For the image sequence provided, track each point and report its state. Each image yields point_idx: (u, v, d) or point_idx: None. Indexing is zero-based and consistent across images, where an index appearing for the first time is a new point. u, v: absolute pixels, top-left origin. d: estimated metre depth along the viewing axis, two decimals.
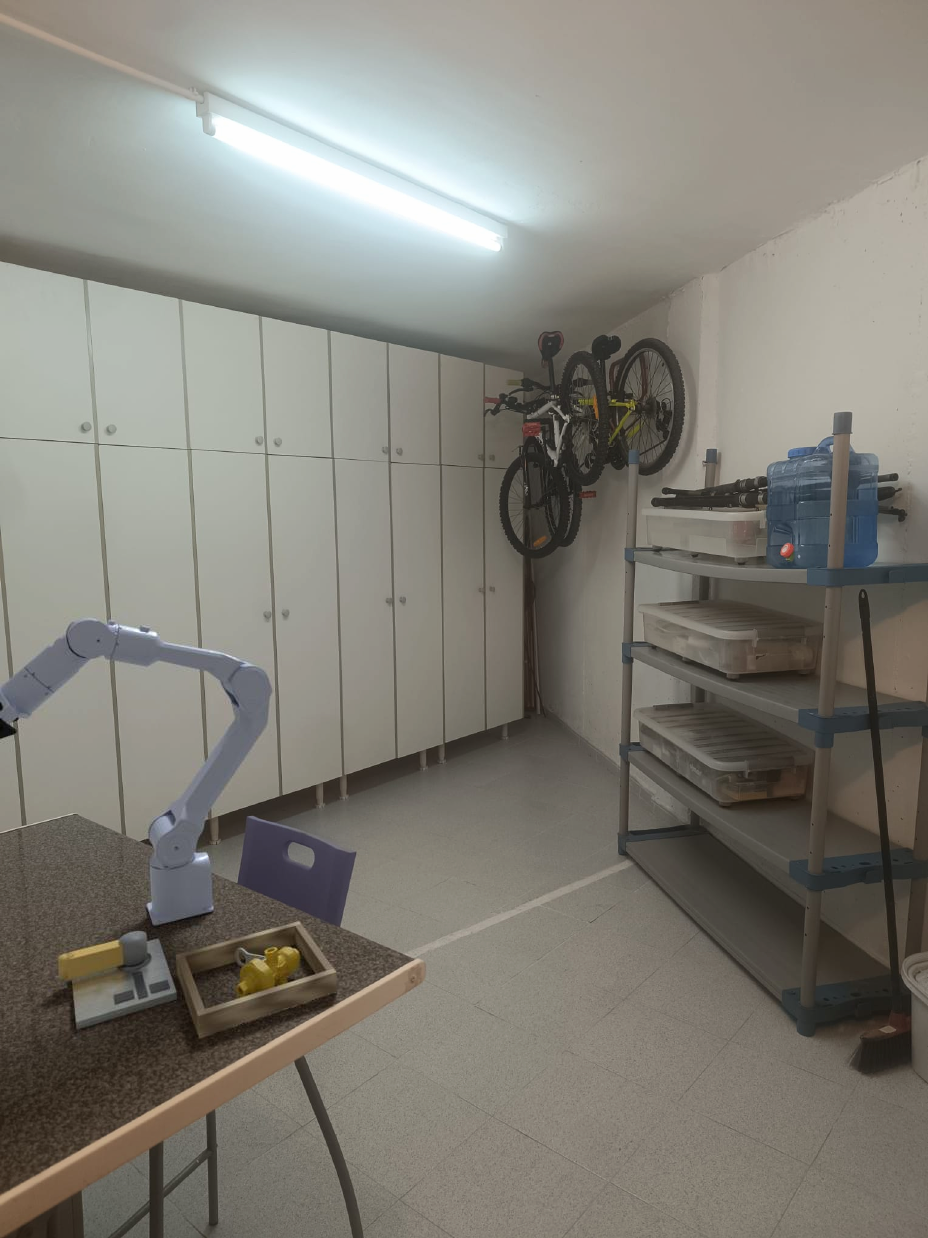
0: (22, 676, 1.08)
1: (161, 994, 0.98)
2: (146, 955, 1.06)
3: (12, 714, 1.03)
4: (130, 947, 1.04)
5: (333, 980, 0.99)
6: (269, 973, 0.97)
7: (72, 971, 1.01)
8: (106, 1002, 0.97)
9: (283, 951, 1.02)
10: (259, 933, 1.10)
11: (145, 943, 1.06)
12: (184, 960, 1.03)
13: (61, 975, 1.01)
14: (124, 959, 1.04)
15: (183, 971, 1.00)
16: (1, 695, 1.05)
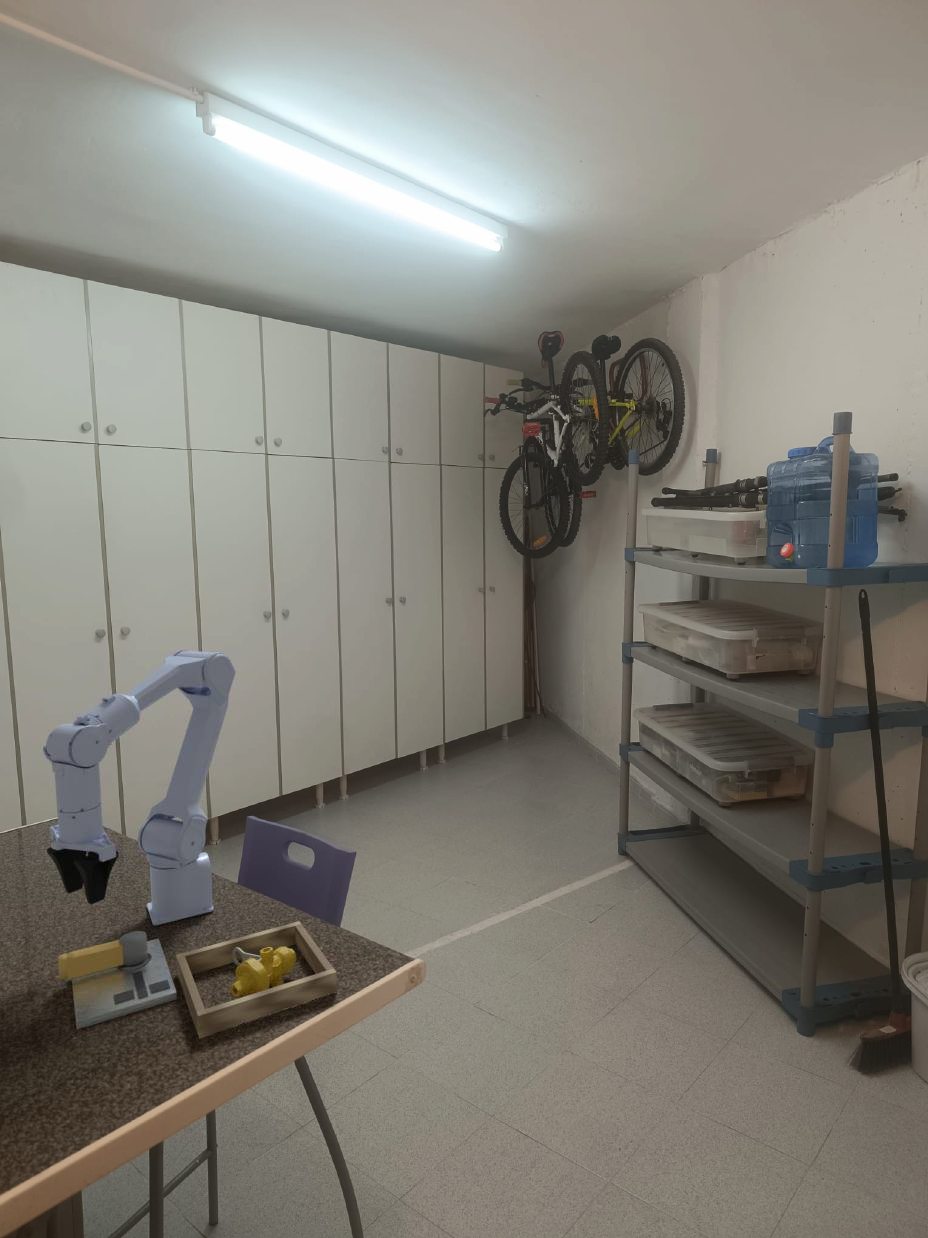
0: (71, 820, 1.04)
1: (161, 994, 0.98)
2: (146, 955, 1.06)
3: (110, 849, 1.03)
4: (130, 947, 1.04)
5: (333, 980, 0.99)
6: (264, 973, 0.97)
7: (72, 971, 1.01)
8: (106, 1002, 0.97)
9: (279, 950, 1.02)
10: (259, 933, 1.10)
11: (145, 943, 1.06)
12: (184, 960, 1.03)
13: (61, 975, 1.01)
14: (124, 959, 1.04)
15: (183, 971, 1.00)
16: (77, 846, 1.03)
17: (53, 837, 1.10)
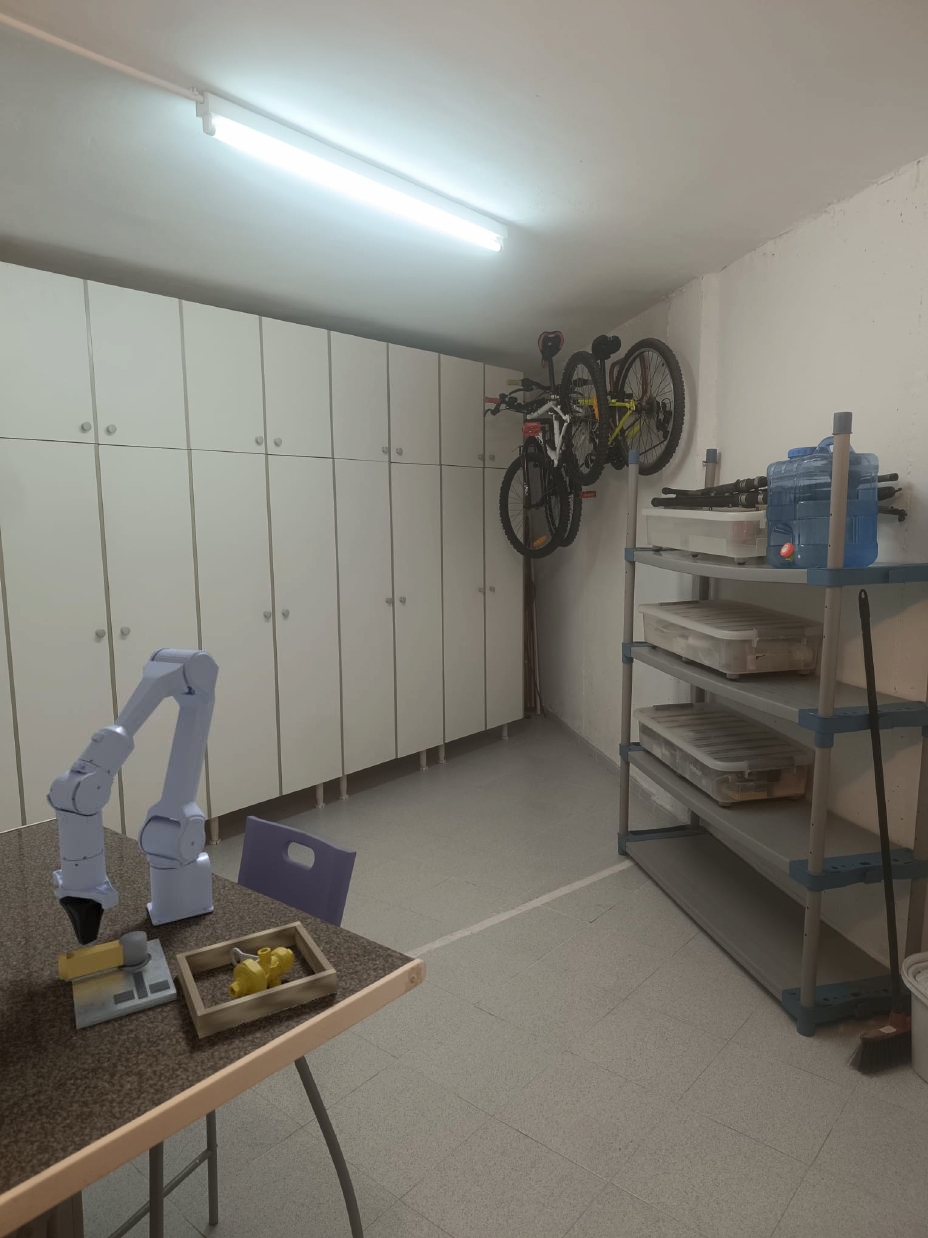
0: (74, 867, 1.04)
1: (161, 994, 0.98)
2: (146, 955, 1.06)
3: (113, 897, 1.04)
4: (130, 947, 1.04)
5: (333, 980, 0.99)
6: (261, 974, 0.97)
7: (72, 971, 1.01)
8: (106, 1002, 0.97)
9: (277, 951, 1.02)
10: (259, 933, 1.10)
11: (145, 943, 1.06)
12: (184, 960, 1.03)
13: (61, 975, 1.01)
14: (124, 959, 1.04)
15: (183, 971, 1.00)
16: (80, 893, 1.04)
17: (56, 882, 1.10)
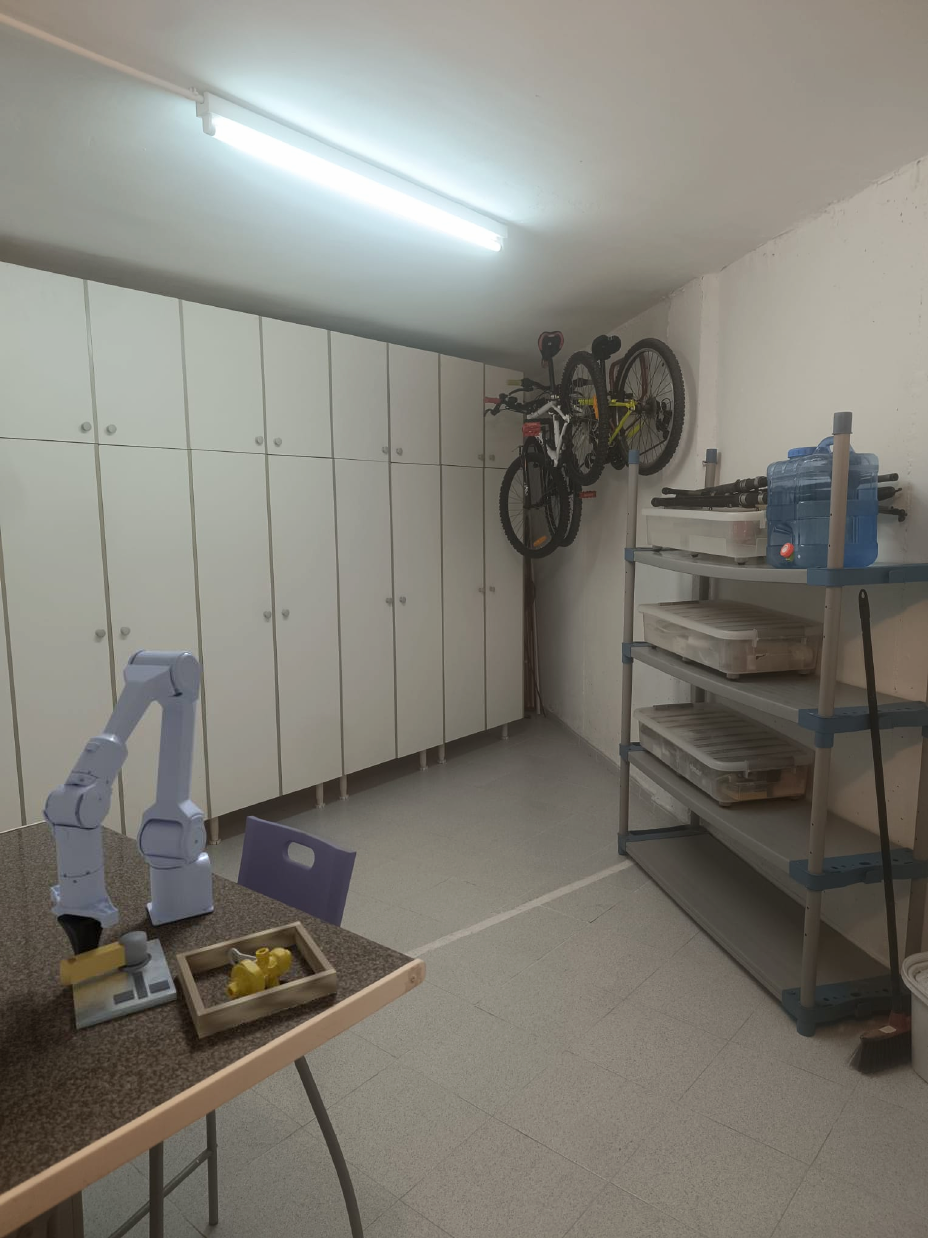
0: (72, 884, 1.00)
1: (161, 994, 0.98)
2: (147, 954, 1.06)
3: (113, 915, 0.99)
4: (133, 947, 1.04)
5: (333, 980, 0.99)
6: (259, 974, 0.97)
7: (75, 976, 1.00)
8: (106, 1002, 0.97)
9: (275, 952, 1.02)
10: (259, 933, 1.10)
11: (146, 942, 1.06)
12: (184, 960, 1.03)
13: (64, 981, 0.99)
14: (126, 959, 1.04)
15: (183, 971, 1.00)
16: (78, 911, 1.00)
17: (54, 898, 1.06)
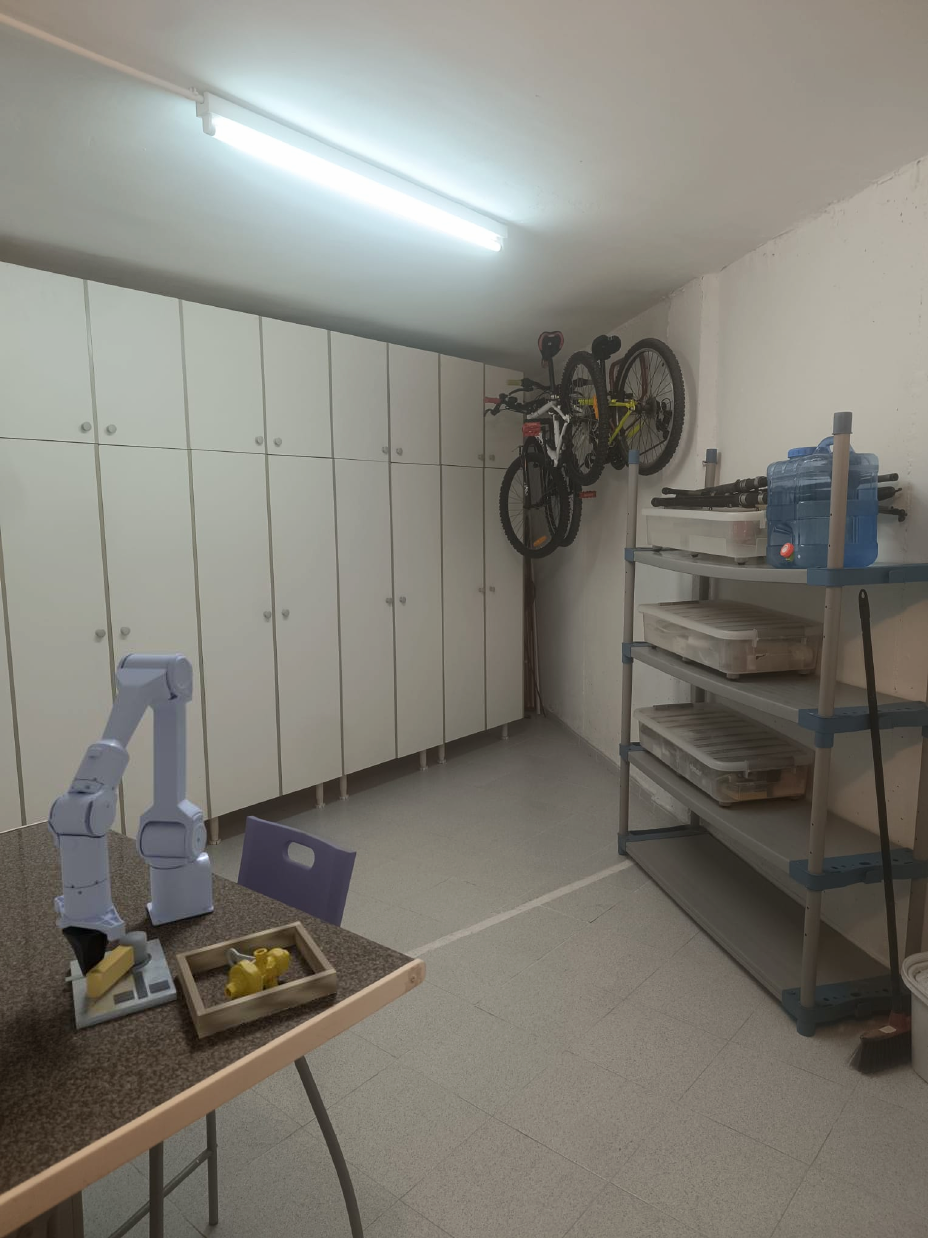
0: (78, 895, 0.97)
1: (161, 994, 0.98)
2: None
3: (120, 928, 0.96)
4: (141, 943, 1.05)
5: (333, 980, 0.99)
6: (257, 975, 0.97)
7: (105, 984, 0.98)
8: (106, 1002, 0.97)
9: (273, 952, 1.02)
10: (259, 933, 1.10)
11: None
12: (184, 960, 1.03)
13: (96, 992, 0.97)
14: (135, 958, 1.04)
15: (183, 971, 1.00)
16: (84, 924, 0.97)
17: (58, 909, 1.03)
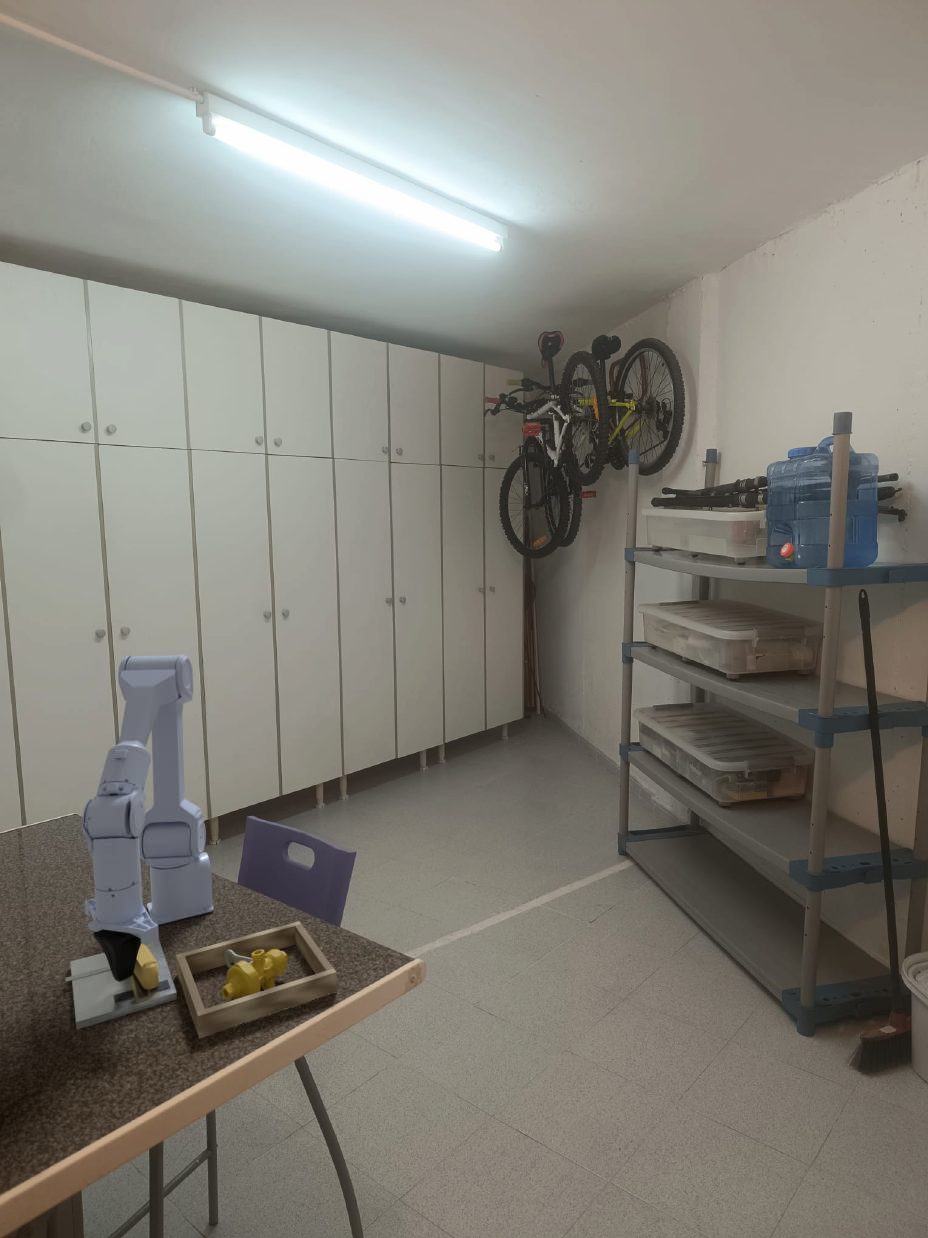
0: (110, 898, 0.96)
1: (161, 994, 0.98)
2: None
3: (153, 931, 0.95)
4: None
5: (333, 980, 0.99)
6: (255, 976, 0.97)
7: None
8: (106, 1002, 0.97)
9: (271, 953, 1.02)
10: (259, 933, 1.10)
11: None
12: (184, 960, 1.03)
13: (157, 981, 0.99)
14: None
15: (183, 971, 1.00)
16: (117, 927, 0.96)
17: (88, 912, 1.02)
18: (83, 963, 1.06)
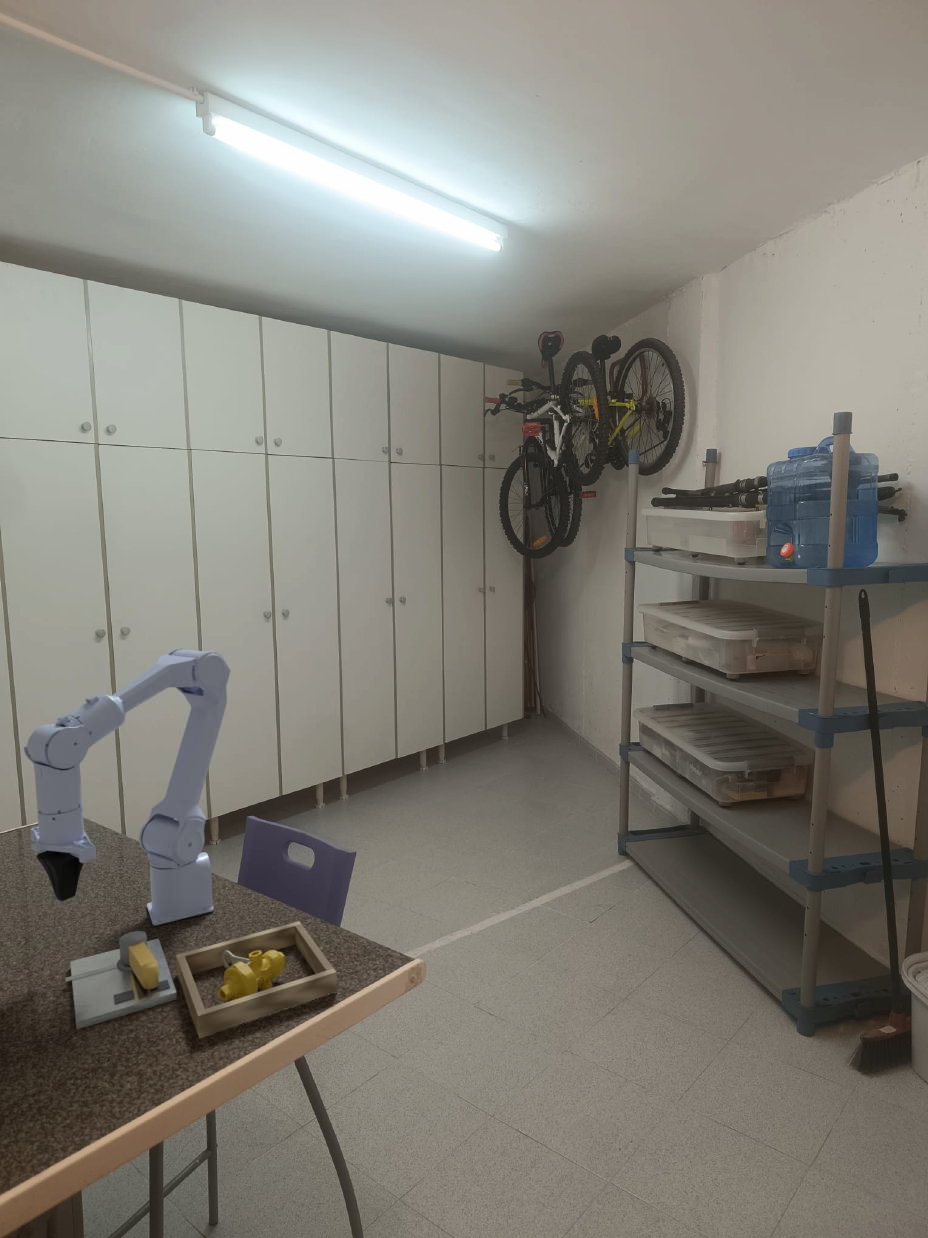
0: (51, 821, 1.03)
1: (161, 994, 0.98)
2: None
3: (91, 851, 1.02)
4: (146, 938, 1.06)
5: (333, 980, 0.99)
6: (252, 977, 0.97)
7: None
8: (106, 1002, 0.97)
9: (268, 954, 1.02)
10: (259, 933, 1.10)
11: None
12: (184, 960, 1.03)
13: (157, 981, 0.99)
14: None
15: (183, 971, 1.00)
16: (57, 847, 1.03)
17: (34, 839, 1.09)
18: (83, 963, 1.06)
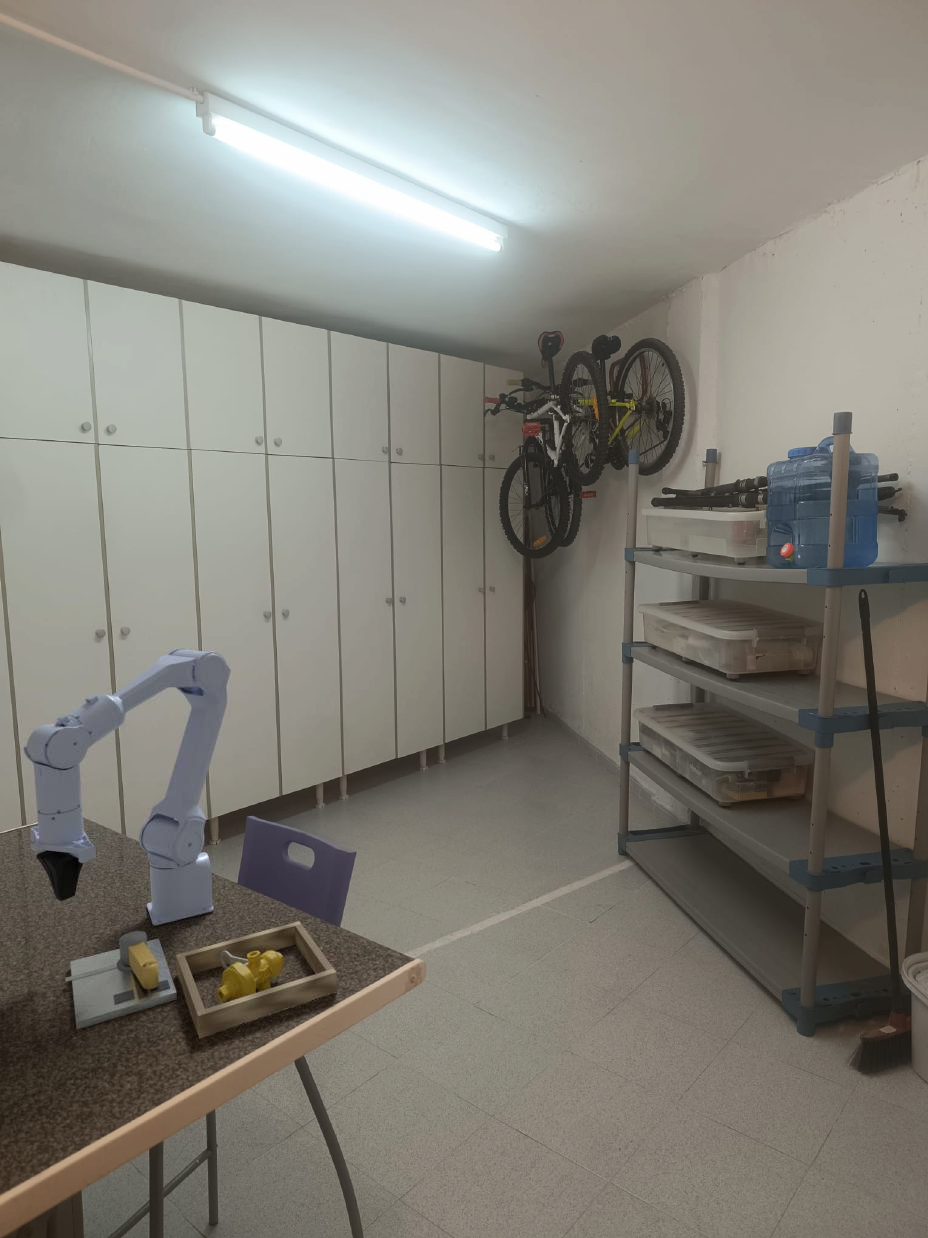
0: (51, 821, 1.03)
1: (161, 994, 0.98)
2: None
3: (90, 851, 1.03)
4: (146, 938, 1.06)
5: (333, 980, 0.99)
6: (250, 977, 0.96)
7: None
8: (106, 1002, 0.97)
9: (266, 954, 1.01)
10: (259, 933, 1.10)
11: None
12: (184, 960, 1.03)
13: (157, 981, 0.99)
14: None
15: (183, 971, 1.00)
16: (56, 847, 1.03)
17: (34, 838, 1.09)
18: (83, 963, 1.06)
